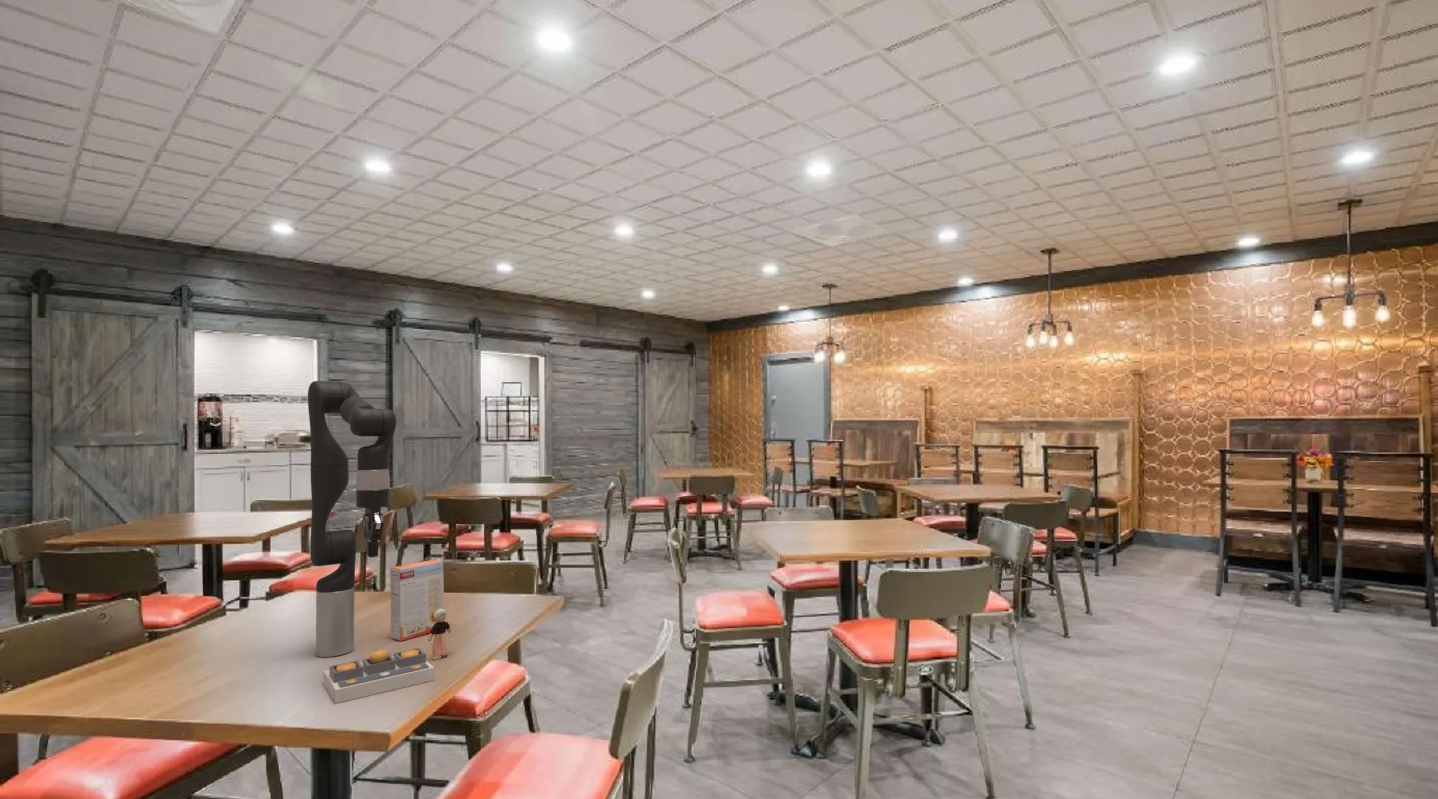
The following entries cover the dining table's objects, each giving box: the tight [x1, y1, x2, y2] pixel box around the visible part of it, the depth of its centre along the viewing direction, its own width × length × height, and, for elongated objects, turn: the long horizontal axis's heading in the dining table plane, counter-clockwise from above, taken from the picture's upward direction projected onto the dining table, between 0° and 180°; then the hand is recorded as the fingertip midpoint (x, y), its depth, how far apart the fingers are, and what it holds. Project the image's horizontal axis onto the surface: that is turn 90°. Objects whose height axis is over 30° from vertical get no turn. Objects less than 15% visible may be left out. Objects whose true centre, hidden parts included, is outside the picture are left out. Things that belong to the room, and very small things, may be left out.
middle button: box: [369, 648, 389, 663], centre depth 162 cm, size 4×4×2 cm
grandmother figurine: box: [426, 608, 452, 661], centre depth 180 cm, size 8×4×13 cm, turn 168°
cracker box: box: [389, 559, 445, 642], centre depth 201 cm, size 14×6×21 cm, turn 144°
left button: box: [337, 662, 356, 672], centre depth 158 cm, size 4×4×2 cm
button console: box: [322, 647, 435, 704], centre depth 162 cm, size 16×21×5 cm
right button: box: [401, 649, 419, 658], centre depth 167 cm, size 4×4×2 cm
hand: (372, 556), depth 169 cm, fingers closed
